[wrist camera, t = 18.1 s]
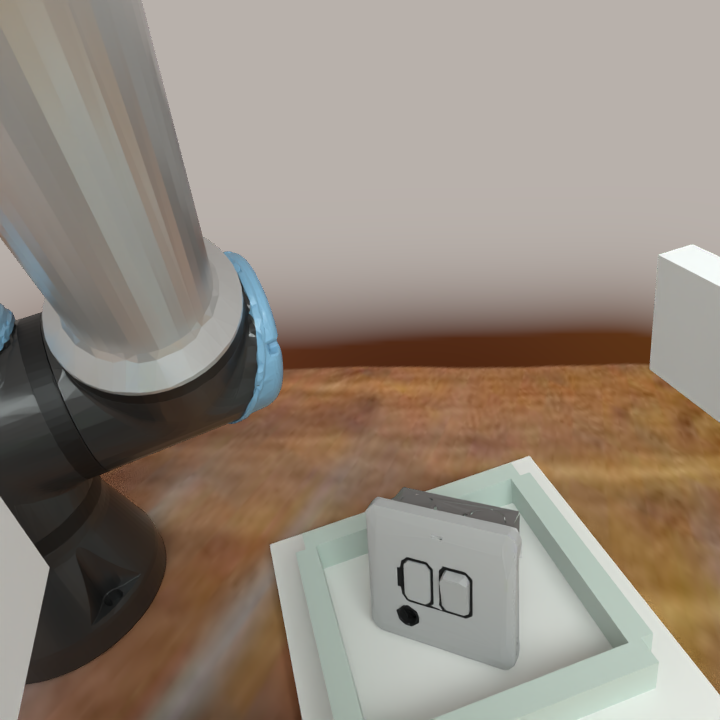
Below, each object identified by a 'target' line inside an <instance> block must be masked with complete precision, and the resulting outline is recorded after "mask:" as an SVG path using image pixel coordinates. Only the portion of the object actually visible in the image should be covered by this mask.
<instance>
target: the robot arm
mask: <svg viewBox="0 0 720 720" xmlns="http://www.w3.org/2000/svg"><path fill="white" fill-rule="evenodd" d="M0 238H1V239H2V241H3V242H4V243H5V245H6V246H7V247H8V249H9V250H10V251H11V253H12V254H13V255H14V257H15V258H16V259H17V261H18V262H19V263H20V265H21V266H22V267H23V269H24V270H25V271H26V273H27V274H28V275H29V277H30V278H31V279H32V281H33V282H34V283H35V285H36V286H37V287H38V289H39V290H40V291H41V293H42V294H43V295H44V297H45V299H44V304H43V311H42V312H41V313H38V314H35V315H32V316H29V317H26V318H23V319H19V320H15V318H14V315H13V313H12V312H11V311H10V310H9V309H6V308H5V307H4V306H3V305H2V304H1V303H0V720H17V719H18V715H19V710H20V705H21V701H22V696H23V691H24V686H25V684H30V683H36V682H41V681H45V680H49V679H52V678H55V677H58V676H61V675H64V674H66V673H68V672H71V671H73V670H75V669H77V668H79V667H81V666H83V665H84V664H86V663H88V662H90V661H91V660H93V659H94V658H96V657H98V656H99V655H100V654H102V653H103V652H105V651H106V650H107V649H109V648H110V647H111V646H113V645H114V644H115V643H116V642H117V641H118V640H120V639H121V638H122V637H123V636H124V635H125V634H126V633H127V632H128V631H129V630H130V629H131V628H132V627H133V626H134V625H135V624H136V622H137V621H138V620H139V619H140V618H141V616H142V615H143V614H144V612H145V611H146V610H147V608H148V607H149V605H150V604H151V602H152V600H153V599H154V597H155V595H156V593H157V591H158V589H159V587H160V584H161V582H162V579H163V575H164V571H165V565H166V552H165V547H164V543H163V541H162V539H161V537H160V535H159V533H158V531H157V529H156V527H155V526H154V524H153V522H152V520H151V519H150V518H149V517H148V515H147V514H146V513H145V512H144V511H142V510H141V509H140V508H139V507H137V506H136V505H135V504H133V503H132V502H131V501H130V500H128V499H127V498H126V497H124V496H123V495H122V494H121V493H119V492H118V491H117V490H115V489H114V488H113V487H111V486H110V485H109V484H108V483H106V482H105V481H104V480H102V478H101V477H100V475H101V474H103V473H106V472H108V471H111V470H113V469H115V468H118V467H121V466H123V465H126V464H128V463H131V462H133V461H136V460H138V459H141V458H143V457H146V456H148V455H151V454H153V453H156V452H158V451H161V450H163V449H166V448H168V447H171V446H173V445H176V444H178V443H181V442H183V441H186V440H188V439H191V438H193V437H196V436H198V435H201V434H203V433H206V432H208V431H211V430H213V429H216V428H218V427H221V426H223V425H226V424H233V423H237V422H240V421H242V420H243V419H246V418H247V417H248V416H249V415H250V414H251V413H253V412H255V411H258V410H260V409H262V408H264V407H266V406H268V405H270V404H271V403H272V402H273V401H274V400H275V399H276V398H277V396H278V394H279V392H280V390H281V386H282V381H283V360H282V353H281V349H280V347H279V345H278V343H277V341H276V340H277V336H278V334H277V330H276V325H275V321H274V318H273V314H272V311H271V308H270V306H269V303H268V300H267V297H266V295H265V292H264V290H263V288H262V286H261V284H260V282H259V280H258V278H257V276H256V274H255V272H254V270H253V269H252V267H251V266H250V264H249V263H248V262H247V260H246V259H244V258H243V257H242V256H240V255H239V254H236V253H232V252H222V251H221V249H220V248H218V247H217V246H216V245H215V244H213V243H212V242H211V241H210V240H208V239H206V238H204V237H203V236H202V232H201V228H200V225H199V221H198V217H197V213H196V209H195V205H194V201H193V197H192V193H191V190H190V186H189V182H188V178H187V174H186V170H185V167H184V163H183V159H182V155H181V151H180V147H179V143H178V139H177V136H176V132H175V128H174V124H173V120H172V116H171V112H170V108H169V105H168V101H167V97H166V93H165V89H164V85H163V81H162V77H161V74H160V70H159V66H158V62H157V58H156V54H155V50H154V47H153V43H152V39H151V36H150V31H149V27H148V23H147V19H146V16H145V12H144V8H143V4H142V0H0ZM650 370H651V371H653V372H654V373H655V374H657V375H658V376H659V377H661V378H662V379H663V380H665V381H666V382H667V383H668V384H670V385H671V386H672V387H674V388H675V389H676V390H678V391H679V392H680V393H682V394H683V395H684V396H686V397H687V398H688V399H689V400H691V401H692V402H693V403H695V404H696V405H697V406H699V407H700V408H701V409H703V410H704V411H705V412H707V413H708V414H709V415H710V416H712V417H713V418H714V419H716V420H717V421H718V422H720V257H719V256H717V255H715V254H712V253H710V252H708V251H706V250H704V249H702V248H699V247H697V246H695V245H693V244H692V245H688V246H685V247H682V248H679V249H675V250H672V251H669V252H665V253H662V254H659V255H658V264H657V278H656V290H655V304H654V318H653V330H652V344H651V357H650Z"/></svg>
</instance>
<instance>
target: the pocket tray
mask: <svg viewBox="0 0 720 720" xmlns="http://www.w3.org/2000/svg"><path fill="white" fill-rule="evenodd" d="M425 492H429V493H434V494H439V495H443V496H448V497H453V498H458V499H462V500H467V501H472V502H477V503H482V504H486V505H491V506H496V507H501V508H506V509H510V510H515V511H519V514H520V528H519V534H520V537H521V539H522V558H519V642H520V651H519V657H518V659H517V661H516V663H515V666H514V667H512V668H510V669H509V670H502V669H499V668H496V667H493V666H490V665H487V664H484V663H481V662H478V661H475V660H472V659H469V658H466V657H463V656H460V655H457V654H454V653H451V652H448V651H445V650H442V649H439V648H436V647H433V646H430V645H427V644H424V643H421V642H418V641H415V640H412V639H408V638H405V637H402V636H399V635H396V634H393V633H390V632H387V631H384V630H382V629H380V628H379V627H378V626H377V625H376V624H375V622H374V621H373V620H372V605H371V589H370V573H369V557H368V541H367V525H366V512H364V513H361V514H358V515H355V516H352V517H349V518H346V519H343V520H340V521H337V522H334V523H331V524H328V525H326V526H323V527H320V528H317V529H314V530H311V531H308V532H305V533H302V534H299V535H296V536H293V537H290V538H287V539H284V540H281V541H279V542H276V543H273V544H270V549H271V554H272V559H273V565H274V570H275V576H276V581H277V586H278V592H279V597H280V603H281V608H282V613H283V619H284V624H285V629H286V635H287V640H288V646H289V651H290V656H291V662H292V667H293V673H294V678H295V683H296V689H297V694H298V700H299V705H300V710H301V716H302V720H720V695H719V694H718V692H717V691H716V690H715V689H714V687H713V686H712V685H711V684H710V682H709V681H708V680H707V679H706V677H705V676H704V675H703V674H702V672H701V671H700V670H699V668H698V667H697V666H696V665H695V663H694V662H693V661H692V660H691V658H690V657H689V656H688V655H687V653H686V652H685V651H684V650H683V648H682V647H681V646H680V645H679V643H678V642H677V641H676V640H675V638H674V637H673V636H672V635H671V633H670V632H669V631H668V630H667V628H666V627H665V626H664V624H663V623H662V622H661V621H660V619H659V618H658V617H657V616H656V614H655V613H654V612H653V611H652V609H651V608H650V607H649V606H648V604H647V603H646V602H645V601H644V599H643V598H642V597H641V596H640V594H639V593H638V592H637V591H636V589H635V588H634V587H633V586H632V584H631V583H630V582H629V580H628V579H627V578H626V577H625V575H624V574H623V573H622V572H621V570H620V569H619V568H618V567H617V565H616V564H615V563H614V562H613V560H612V559H611V558H610V557H609V555H608V554H607V553H606V552H605V550H604V549H603V548H602V547H601V545H600V544H599V543H598V542H597V540H596V539H595V538H594V536H593V535H592V534H591V533H590V531H589V530H588V529H587V528H586V526H585V525H584V524H583V523H582V521H581V520H580V519H579V518H578V516H577V515H576V514H575V513H574V511H573V510H572V509H571V508H570V506H569V505H568V504H567V503H566V501H565V500H564V499H563V497H562V496H561V495H560V494H559V492H558V491H557V490H556V489H555V487H554V486H553V485H552V484H551V482H550V481H549V480H548V479H547V477H546V476H545V475H544V474H543V472H542V471H541V470H540V469H539V467H538V466H537V465H536V464H535V462H534V461H533V460H532V459H531V457H530V456H528V457H525V458H522V459H519V460H516V461H513V462H510V463H508V464H505V465H502V466H499V467H496V468H493V469H490V470H487V471H484V472H481V473H478V474H475V475H472V476H469V477H466V478H463V479H461V480H458V481H455V482H452V483H449V484H446V485H443V486H440V487H437V488H434V489H431V490H428V491H425ZM417 495H418V494H417ZM434 510H437V507H434ZM471 514H472V513H471ZM519 514H518V516H519ZM464 516H465V515H464ZM518 516H517V517H518ZM504 519H505V517H504ZM516 519H517V518H516ZM515 521H516V520H515Z"/></svg>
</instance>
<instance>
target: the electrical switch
mask: <svg viewBox="0 0 720 720" xmlns="http://www.w3.org/2000/svg"><path fill="white" fill-rule="evenodd" d="M416 494H418V495H416ZM434 507H437V510H434ZM471 513H472V514H471ZM518 514H519V511H515V510H510V509H506V508H501V507H496V506H491V505H486V504H482V503H477V502H472V501H467V500H462V499H458V498H453V497H448V496H443V495H439V494H434V493H429V492H424V491H419V490H415V489H410V488H405V487H403V488H402V489H401V490H400V492H399V493H398V494H397V495H396V496H395V497H394V498H392V499H385V498H381V497H377V498H375V499H374V500H373V501H372V502H371V504H370V505H369V507H368V508H367V509H366V525H367V541H368V557H369V573H370V589H371V605H372V620H373V621H374V622H375V624H376V625H377V626H378V627H379V628H380V629H382V630H384V631H387V632H390V633H393V634H396V635H399V636H402V637H405V638H408V639H412V640H415V641H418V642H421V643H424V644H427V645H430V646H433V647H436V648H439V649H442V650H445V651H448V652H451V653H454V654H457V655H460V656H463V657H466V658H469V659H472V660H475V661H478V662H481V663H484V664H487V665H490V666H493V667H496V668H499V669H502V670H509V669H510V668H512V667H514V666H515V663H516V661H517V659H518V657H519V651H520V642H519V558H522V539H521V537H520V534H519V528H520V514H519V516H518ZM464 515H465V516H464ZM517 516H518V517H517ZM504 517H505V519H504ZM516 518H517V519H516ZM515 520H516V521H515Z"/></svg>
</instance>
